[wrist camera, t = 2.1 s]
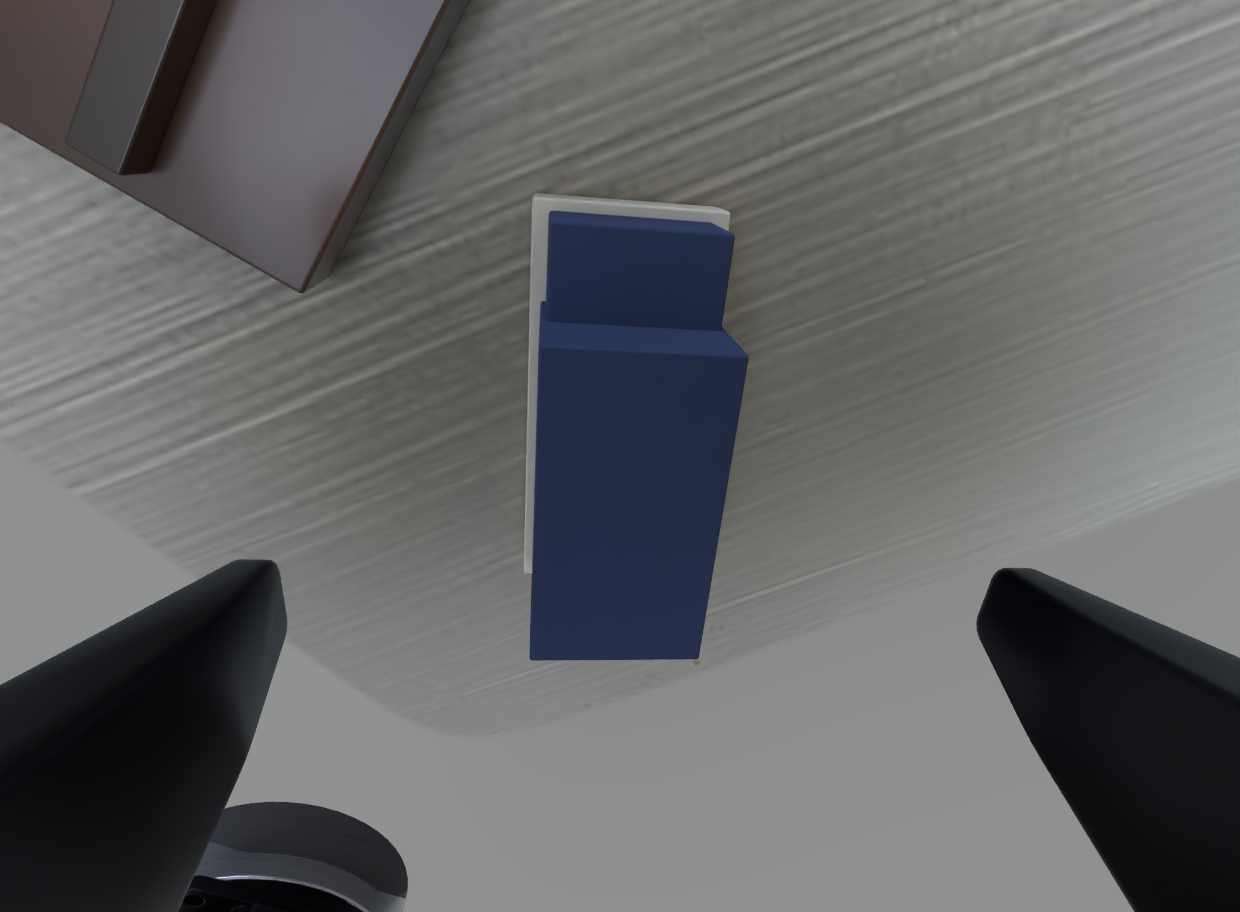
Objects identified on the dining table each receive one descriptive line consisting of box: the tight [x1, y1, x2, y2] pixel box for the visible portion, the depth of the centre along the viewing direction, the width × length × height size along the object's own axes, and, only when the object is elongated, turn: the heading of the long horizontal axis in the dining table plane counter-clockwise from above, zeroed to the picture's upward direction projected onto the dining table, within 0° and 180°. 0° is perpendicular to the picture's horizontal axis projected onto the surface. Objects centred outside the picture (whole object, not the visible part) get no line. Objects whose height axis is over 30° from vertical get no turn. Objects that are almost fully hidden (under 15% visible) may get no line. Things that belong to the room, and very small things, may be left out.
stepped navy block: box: [524, 193, 748, 660], centre depth 13 cm, size 8×4×4 cm, turn 175°
